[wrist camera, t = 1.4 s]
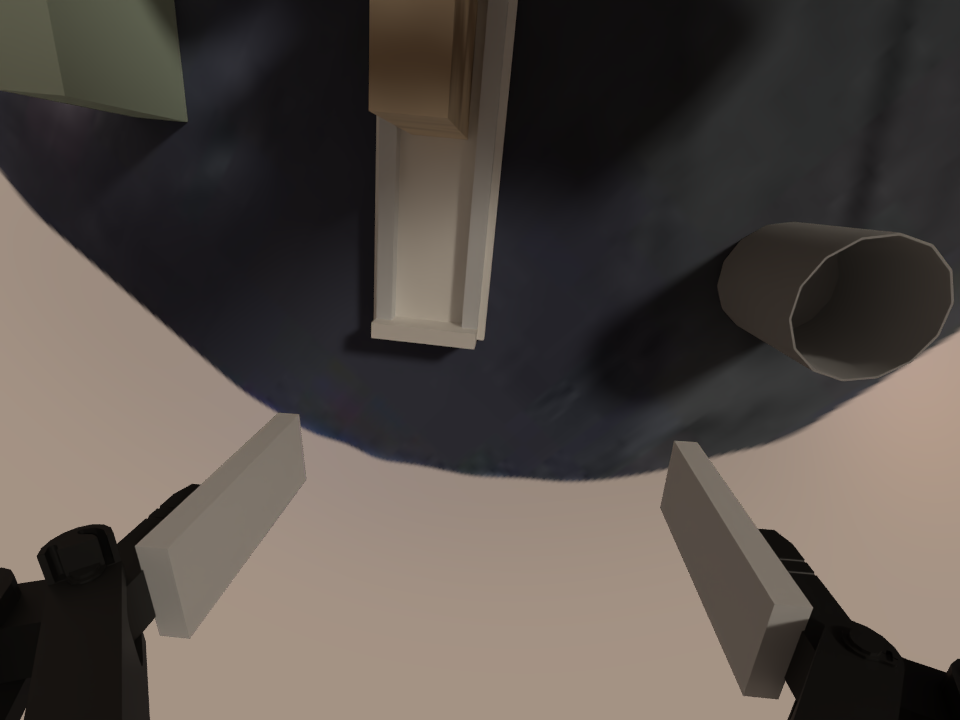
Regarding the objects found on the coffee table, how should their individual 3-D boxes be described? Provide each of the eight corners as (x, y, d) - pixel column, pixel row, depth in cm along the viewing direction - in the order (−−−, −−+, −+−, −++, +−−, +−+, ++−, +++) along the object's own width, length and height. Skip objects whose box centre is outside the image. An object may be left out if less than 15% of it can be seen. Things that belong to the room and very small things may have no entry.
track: (382, -28, 30) (292, -175, 18) (519, -16, 30) (521, -159, 18) (377, 324, 39) (312, 385, 26) (484, 336, 38) (469, 404, 26)
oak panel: (416, -3, 30) (370, -92, 20) (477, 2, 30) (460, -86, 20) (411, 134, 33) (368, 111, 23) (467, 139, 32) (447, 118, 23)
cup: (743, 351, 37) (819, 404, 28) (699, 263, 35) (765, 289, 26) (851, 295, 35) (974, 333, 26) (811, 199, 33) (928, 201, 24)
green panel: (116, -13, 32) (-51, -99, 22) (173, -8, 32) (28, -93, 22) (135, 117, 35) (-6, 89, 25) (188, 122, 34) (64, 95, 25)
